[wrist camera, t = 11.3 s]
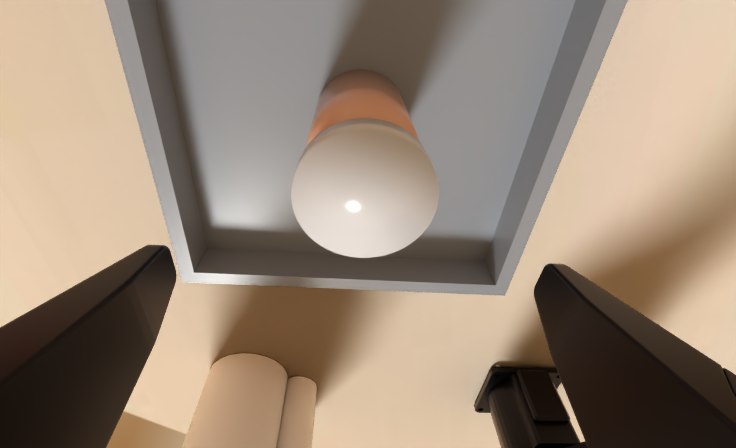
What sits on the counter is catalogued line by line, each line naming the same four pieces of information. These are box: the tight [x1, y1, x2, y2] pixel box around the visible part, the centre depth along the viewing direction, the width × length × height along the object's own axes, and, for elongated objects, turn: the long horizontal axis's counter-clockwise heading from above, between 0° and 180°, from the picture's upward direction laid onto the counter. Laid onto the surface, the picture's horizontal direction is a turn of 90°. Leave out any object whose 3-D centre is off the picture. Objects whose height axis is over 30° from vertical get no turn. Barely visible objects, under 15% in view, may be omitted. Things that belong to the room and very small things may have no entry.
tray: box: [105, 0, 628, 295], centre depth 18 cm, size 19×19×3 cm
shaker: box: [291, 69, 439, 258], centre depth 15 cm, size 5×5×8 cm
